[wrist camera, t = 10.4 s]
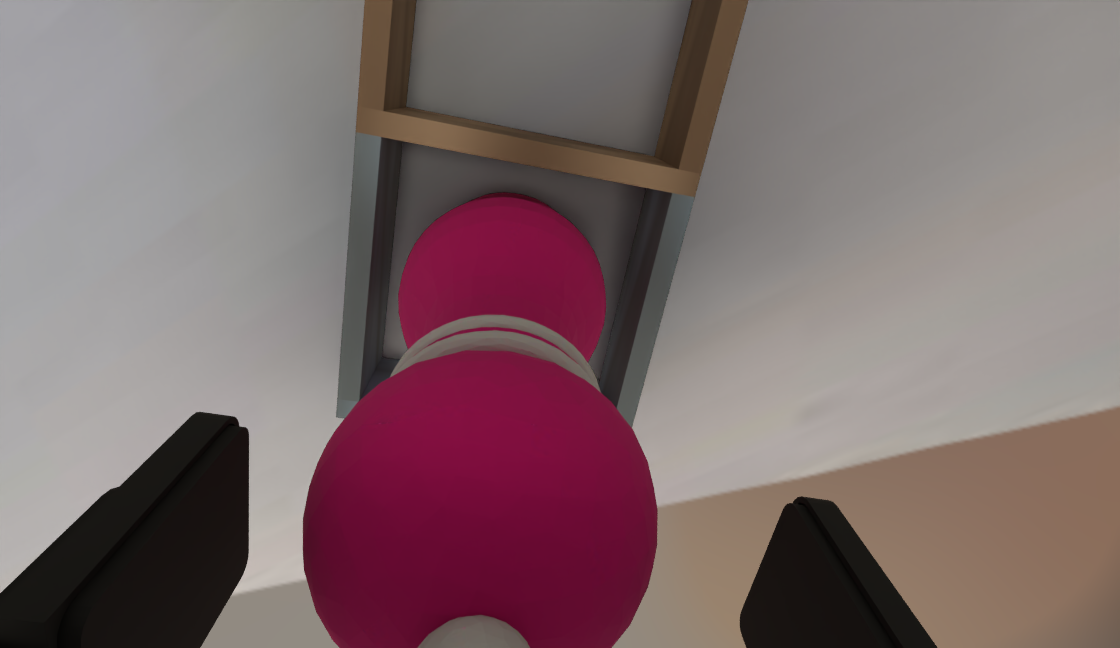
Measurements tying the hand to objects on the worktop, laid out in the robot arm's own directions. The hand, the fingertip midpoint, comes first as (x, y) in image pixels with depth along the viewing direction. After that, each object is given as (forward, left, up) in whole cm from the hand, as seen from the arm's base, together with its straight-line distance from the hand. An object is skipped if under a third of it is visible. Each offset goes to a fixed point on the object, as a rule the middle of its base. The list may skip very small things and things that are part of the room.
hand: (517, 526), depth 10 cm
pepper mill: (+1, 0, -16) cm, 16 cm away
